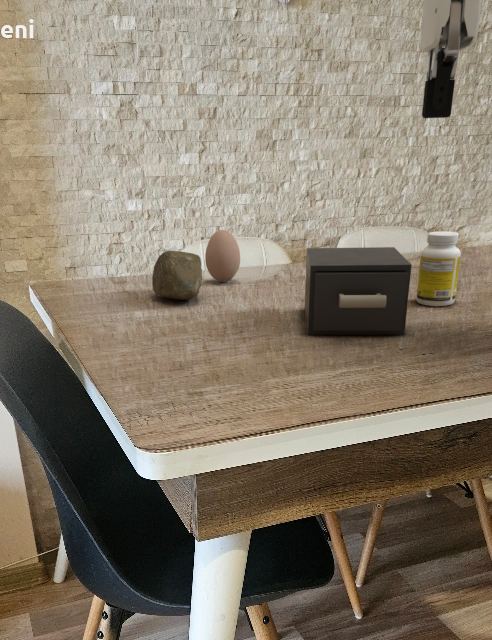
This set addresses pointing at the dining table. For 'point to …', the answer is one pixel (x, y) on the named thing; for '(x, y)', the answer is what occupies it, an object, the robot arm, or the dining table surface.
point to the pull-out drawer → (359, 300)
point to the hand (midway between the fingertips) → (435, 117)
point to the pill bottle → (439, 269)
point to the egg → (222, 256)
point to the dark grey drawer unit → (351, 262)
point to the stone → (177, 275)
